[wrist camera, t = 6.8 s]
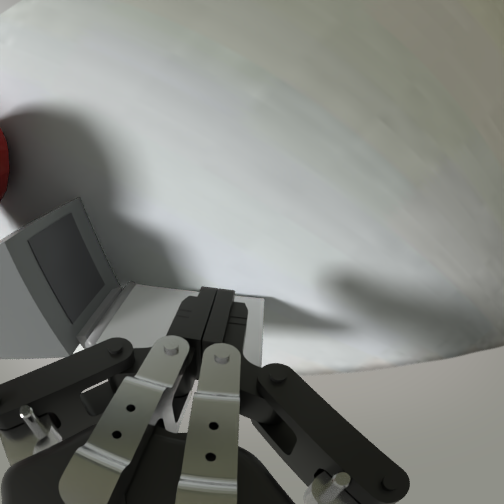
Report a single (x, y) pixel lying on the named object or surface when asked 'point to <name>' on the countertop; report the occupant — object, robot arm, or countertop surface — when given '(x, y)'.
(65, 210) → the grey box with button
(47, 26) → the countertop surface
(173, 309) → the side door
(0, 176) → the apple
